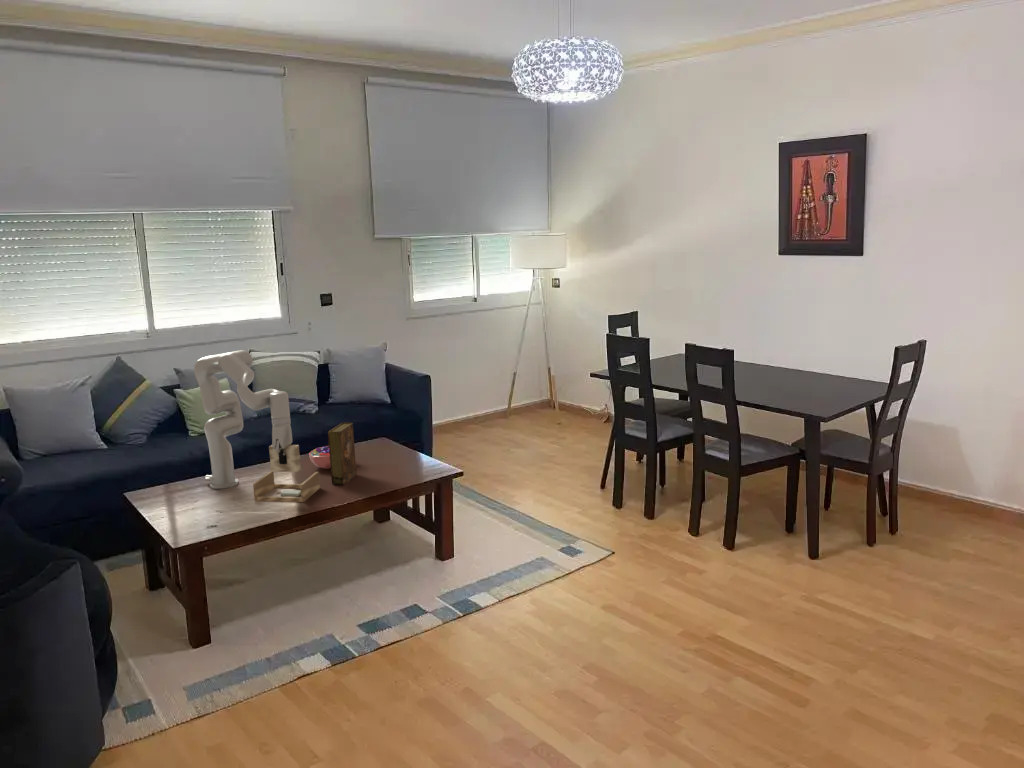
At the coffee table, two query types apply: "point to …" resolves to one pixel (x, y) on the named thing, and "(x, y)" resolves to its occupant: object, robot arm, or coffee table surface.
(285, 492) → the offcut slab top
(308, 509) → the coffee table surface
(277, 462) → the birch sheet
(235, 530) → the coffee table surface
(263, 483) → the pine rack
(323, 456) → the cell model
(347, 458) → the book
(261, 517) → the coffee table surface
